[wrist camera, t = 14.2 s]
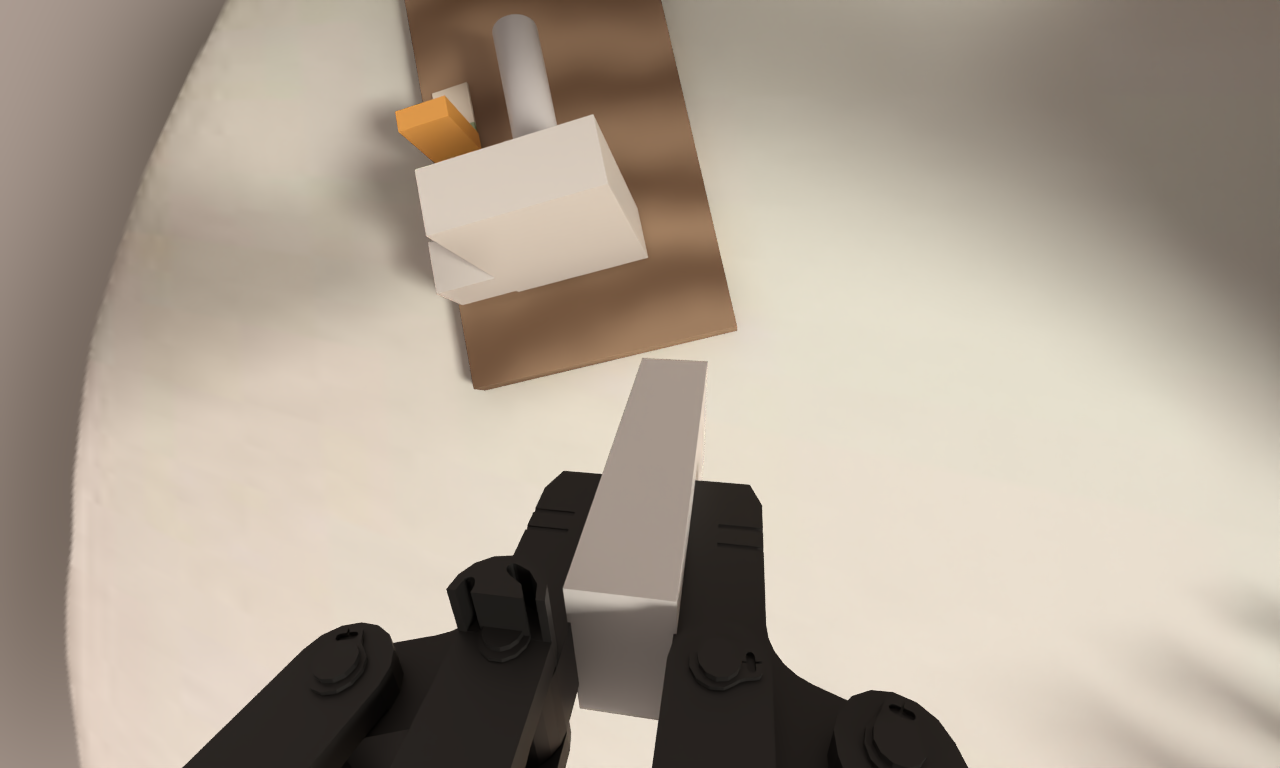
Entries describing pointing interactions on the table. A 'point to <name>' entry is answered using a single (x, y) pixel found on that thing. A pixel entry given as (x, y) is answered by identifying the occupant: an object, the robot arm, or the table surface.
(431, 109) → the orange flat block
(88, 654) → the table surface
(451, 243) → the white stepped block
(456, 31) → the bench
